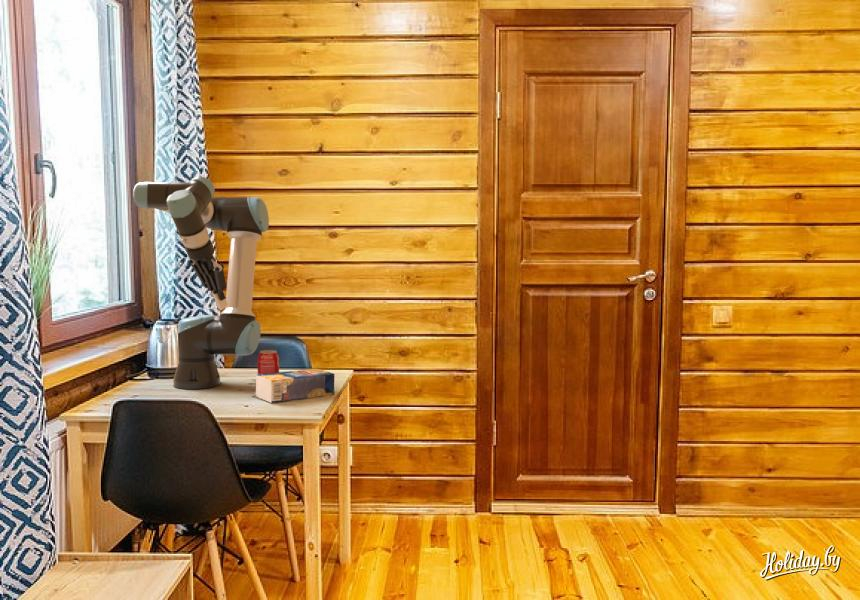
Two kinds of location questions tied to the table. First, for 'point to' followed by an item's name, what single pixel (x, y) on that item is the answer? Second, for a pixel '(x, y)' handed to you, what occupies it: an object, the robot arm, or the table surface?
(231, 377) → the table surface
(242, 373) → the table surface
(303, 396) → the cardboard food box
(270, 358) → the soda can
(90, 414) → the table surface
